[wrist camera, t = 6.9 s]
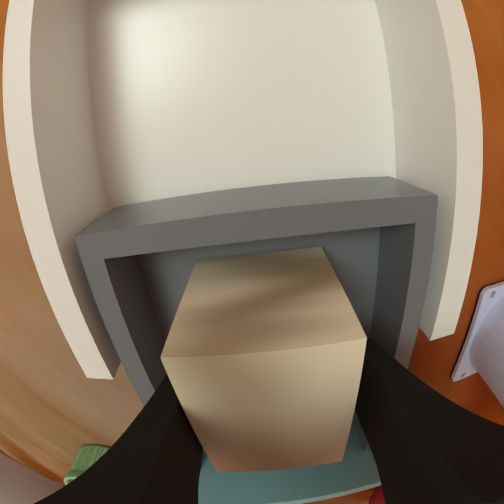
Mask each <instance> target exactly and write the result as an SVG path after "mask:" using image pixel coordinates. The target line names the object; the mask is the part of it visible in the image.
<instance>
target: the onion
mask: <svg viewBox="0 0 504 504" xmlns="http://www.w3.org/2000/svg"><path fill="white" fill-rule="evenodd" d="M369 504H385V500H384V495H383V490H382V485H380V486H378V487H377V488H376V489H375V491H374V492H373V494H372V496H371V497H370V501H369Z"/></svg>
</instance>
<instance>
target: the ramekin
mask: <svg viewBox="0 0 504 504" xmlns="http://www.w3.org/2000/svg"><path fill="white" fill-rule="evenodd" d="M109 449H110V447H108V446H103V445H95V444H90V445H85V446H82V447H81V448H80V449H79V451H78V453H77V455H76V458H75V460H74V462H73V464H72V467H71V469H70V471H69V472H68V473H67V474H66V476H65V478H64V483H65V484H66V485H67V484H68V483H70V482H71V481H73V480H74V479H75V478H77V477H78V476H79V475H81V474H82V473H83V472H85V471H86V470H87V469H88V468H89V467H90V466H92V465H93V464H94V463H95V462H96V461H97V460H98V459H99V458H100V457H101V456H102V455H104V454H105V453H106V452H107V451H108V450H109Z"/></svg>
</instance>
